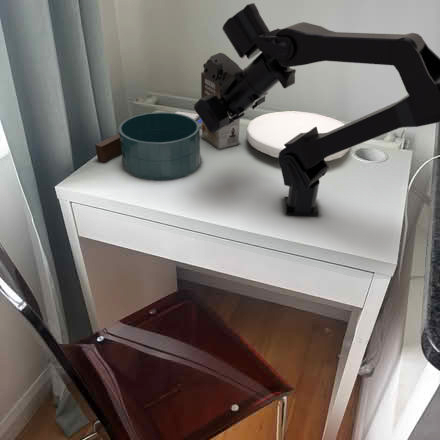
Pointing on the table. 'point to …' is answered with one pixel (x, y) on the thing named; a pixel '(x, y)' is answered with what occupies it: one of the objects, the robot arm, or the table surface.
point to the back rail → (109, 148)
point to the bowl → (160, 145)
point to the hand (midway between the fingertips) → (206, 125)
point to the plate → (287, 130)
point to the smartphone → (189, 114)
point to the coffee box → (227, 133)
